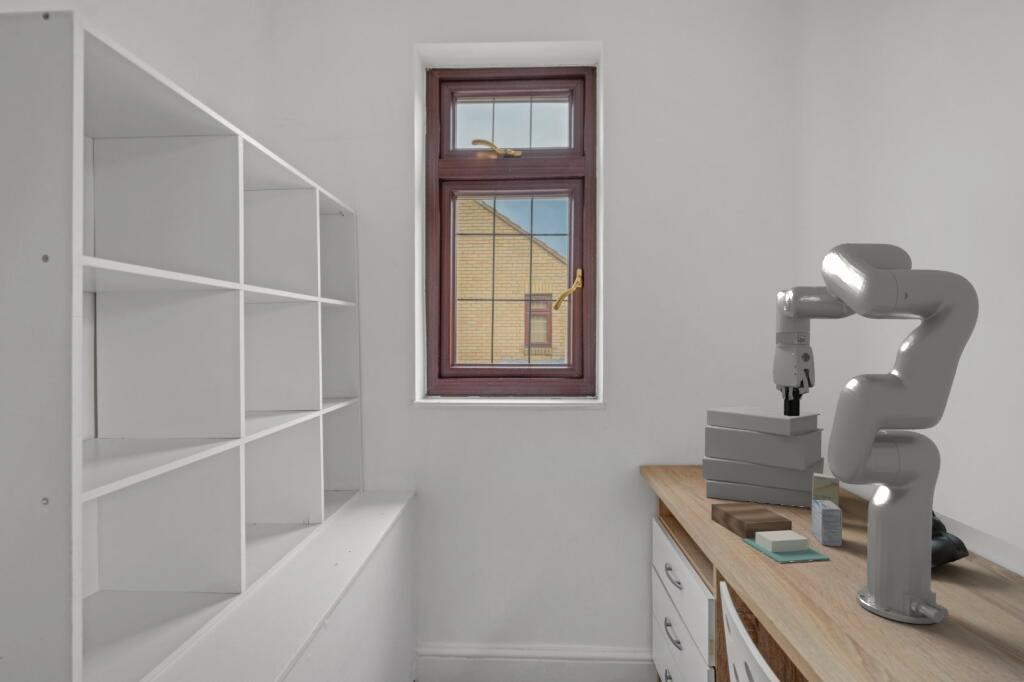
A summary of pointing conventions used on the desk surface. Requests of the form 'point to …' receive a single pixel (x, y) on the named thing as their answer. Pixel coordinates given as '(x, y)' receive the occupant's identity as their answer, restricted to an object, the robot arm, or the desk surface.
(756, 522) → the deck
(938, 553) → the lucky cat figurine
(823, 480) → the skincare box
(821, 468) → the book stack
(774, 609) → the desk surface
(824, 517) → the medicine box
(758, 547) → the mat
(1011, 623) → the desk surface
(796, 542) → the white rectangular block
